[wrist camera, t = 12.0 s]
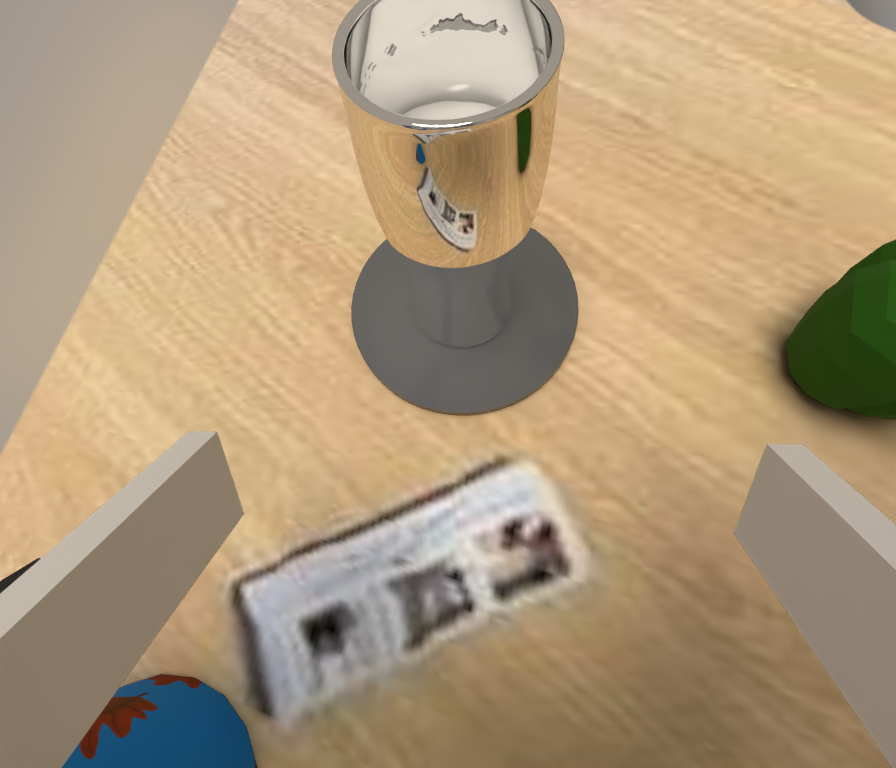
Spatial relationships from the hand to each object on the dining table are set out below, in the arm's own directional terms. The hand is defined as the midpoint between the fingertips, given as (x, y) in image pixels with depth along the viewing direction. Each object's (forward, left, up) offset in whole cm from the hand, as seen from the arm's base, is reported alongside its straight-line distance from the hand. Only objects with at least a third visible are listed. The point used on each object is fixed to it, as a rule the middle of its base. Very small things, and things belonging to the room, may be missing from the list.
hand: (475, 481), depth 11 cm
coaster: (-6, -11, -13) cm, 18 cm away
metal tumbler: (-6, -10, -12) cm, 17 cm away
